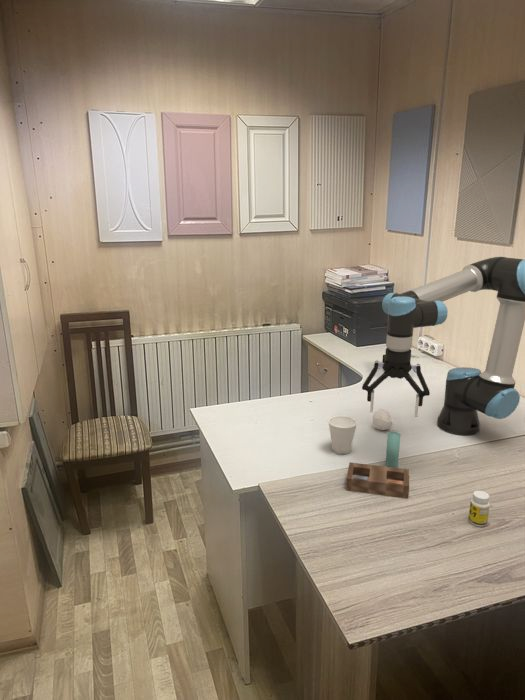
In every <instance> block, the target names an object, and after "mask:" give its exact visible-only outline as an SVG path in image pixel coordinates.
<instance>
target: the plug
mask: <svg viewBox="0 0 525 700" xmlns="http://www.w3.org/2000/svg"><path fill="white" fill-rule="evenodd" d="M386 437H387V438H386V451H385V452H386V453H385V464H384V466H385V467H394V468H399V458H400V449H401V448H400V444H401V437H402V435H401V433H400V432H398V431H394V430H393V431H391V430H390V431H388V432H387V436H386Z"/></svg>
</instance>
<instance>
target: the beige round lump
mask: <svg viewBox="0 0 525 700" xmlns="http://www.w3.org/2000/svg"><path fill="white" fill-rule="evenodd" d="M390 414H391V412H389V411H387V410H384V409H377V410H375V411H374V413H373V414H372V418H371V420H372V421H371V422H372V424H373V426H374V427H375V428H376V429H377V430H380V431H387V430H389V429H391V428H392V426H393V425H394V423H393V417H392V416H391V415H390Z"/></svg>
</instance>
